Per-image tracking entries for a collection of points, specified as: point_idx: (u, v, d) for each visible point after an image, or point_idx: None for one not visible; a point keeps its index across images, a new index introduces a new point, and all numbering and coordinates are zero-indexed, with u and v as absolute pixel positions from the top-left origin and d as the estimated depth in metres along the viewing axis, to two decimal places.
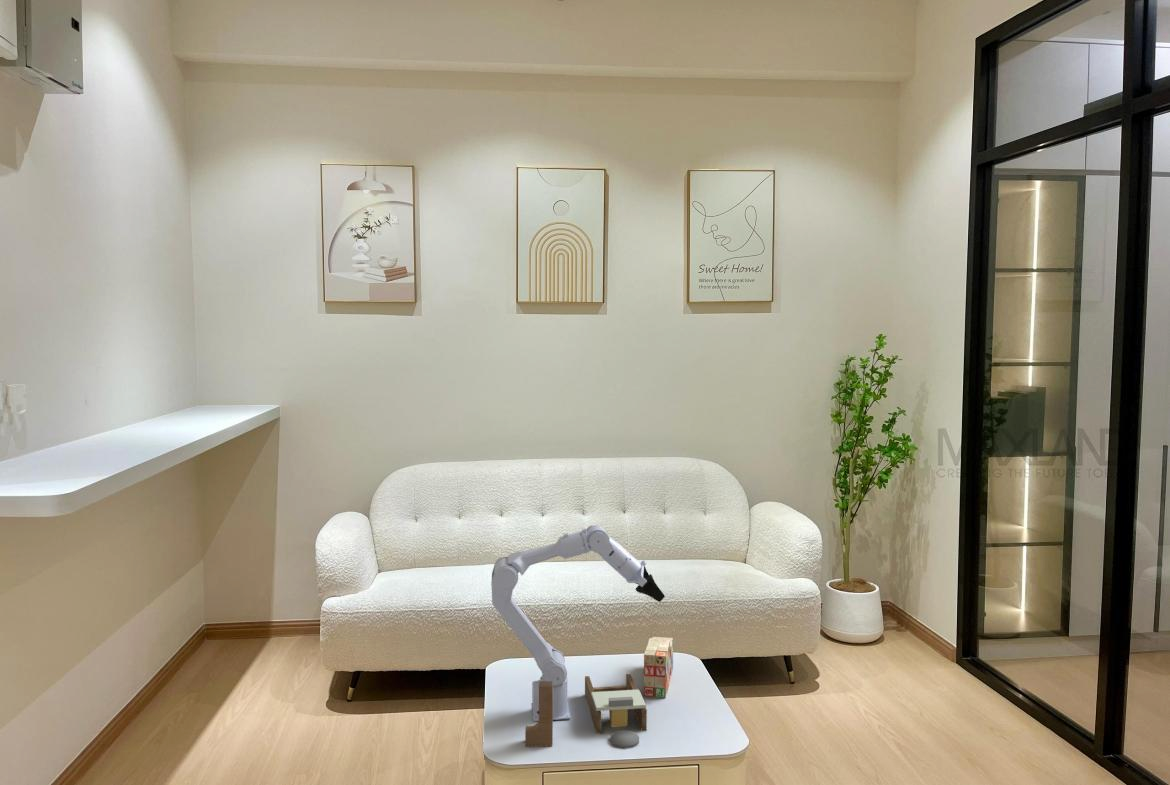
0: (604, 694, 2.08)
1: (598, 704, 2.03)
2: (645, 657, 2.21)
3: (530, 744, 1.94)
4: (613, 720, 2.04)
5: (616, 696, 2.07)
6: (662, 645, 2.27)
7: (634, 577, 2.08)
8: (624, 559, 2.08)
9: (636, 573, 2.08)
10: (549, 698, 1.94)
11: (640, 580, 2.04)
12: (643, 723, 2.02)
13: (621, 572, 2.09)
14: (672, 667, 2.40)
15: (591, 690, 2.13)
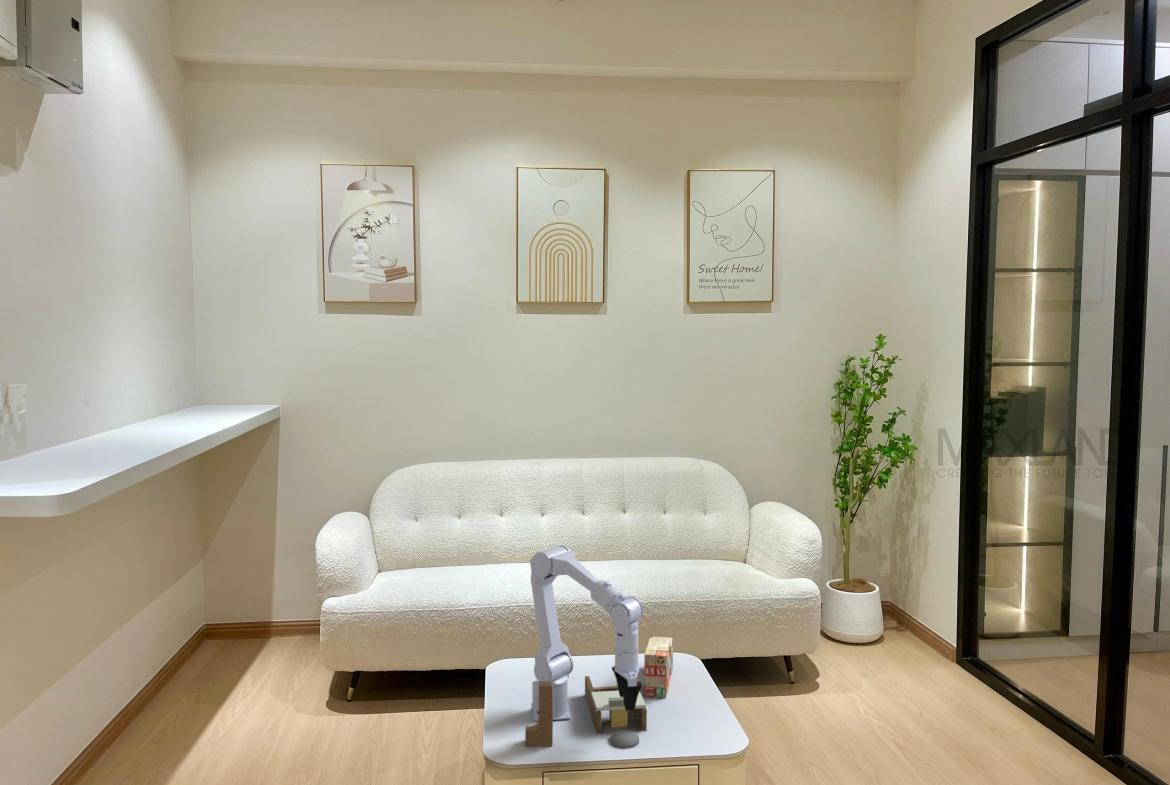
0: (604, 694, 2.08)
1: (598, 704, 2.03)
2: (645, 657, 2.21)
3: (530, 744, 1.94)
4: (613, 720, 2.04)
5: (616, 696, 2.07)
6: (662, 645, 2.27)
7: (625, 671, 1.93)
8: (623, 650, 1.93)
9: (630, 670, 1.93)
10: (549, 698, 1.94)
11: (632, 680, 1.89)
12: (643, 723, 2.02)
13: (619, 657, 1.93)
14: (672, 667, 2.40)
15: (591, 690, 2.13)
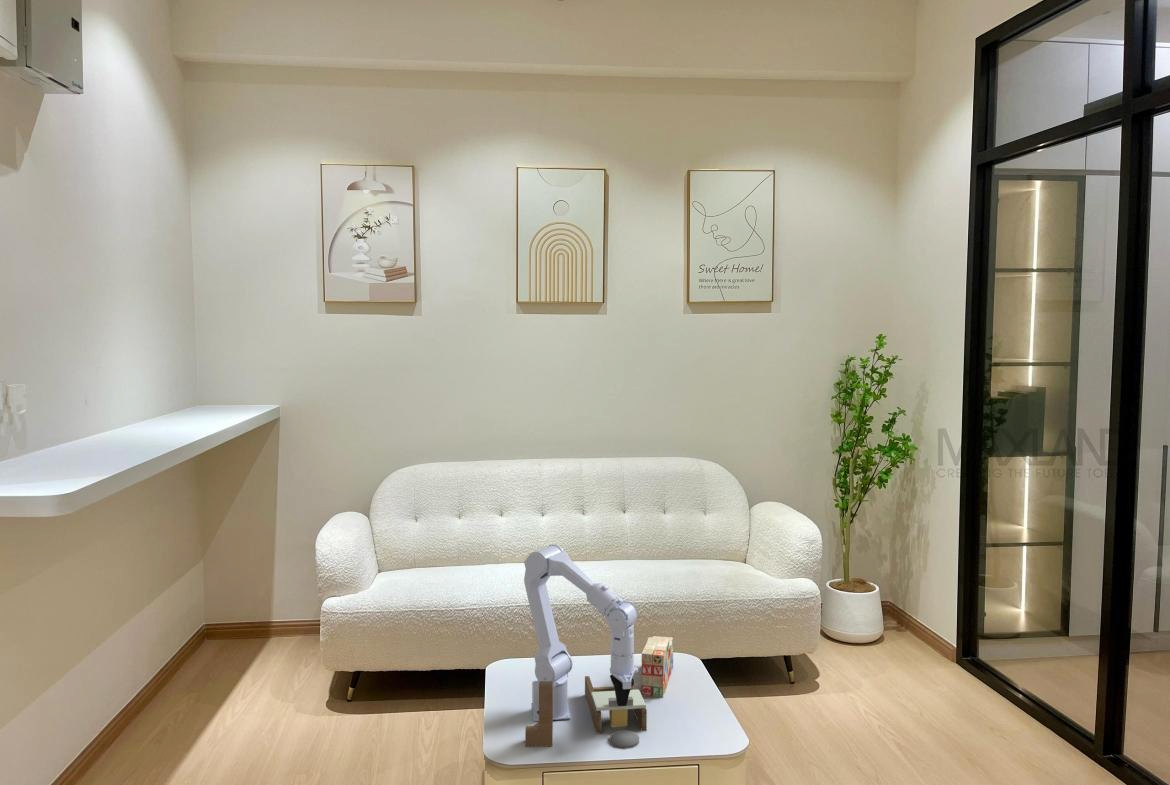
0: (604, 694, 2.08)
1: (598, 704, 2.03)
2: (643, 656, 2.22)
3: (530, 744, 1.94)
4: (613, 720, 2.04)
5: None
6: (660, 644, 2.28)
7: (621, 674, 1.97)
8: (621, 654, 1.97)
9: (625, 673, 1.97)
10: (549, 698, 1.94)
11: (627, 683, 1.93)
12: (643, 723, 2.02)
13: (615, 660, 1.98)
14: (672, 667, 2.40)
15: (591, 690, 2.13)
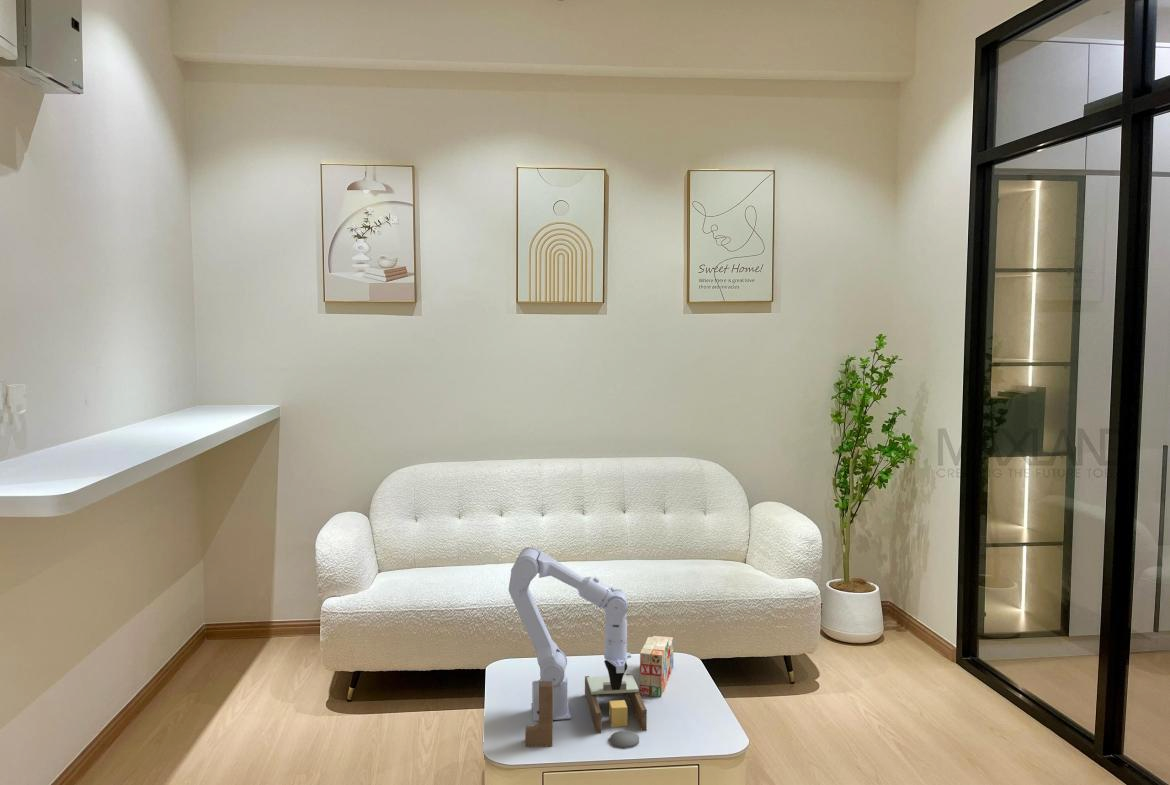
0: (599, 679, 2.17)
1: (592, 688, 2.12)
2: (641, 655, 2.22)
3: (530, 744, 1.94)
4: (613, 720, 2.04)
5: None
6: (659, 644, 2.28)
7: (614, 659, 2.06)
8: (619, 639, 2.06)
9: (619, 658, 2.07)
10: (549, 698, 1.94)
11: (620, 667, 2.02)
12: (643, 723, 2.02)
13: (609, 646, 2.07)
14: (672, 666, 2.41)
15: None
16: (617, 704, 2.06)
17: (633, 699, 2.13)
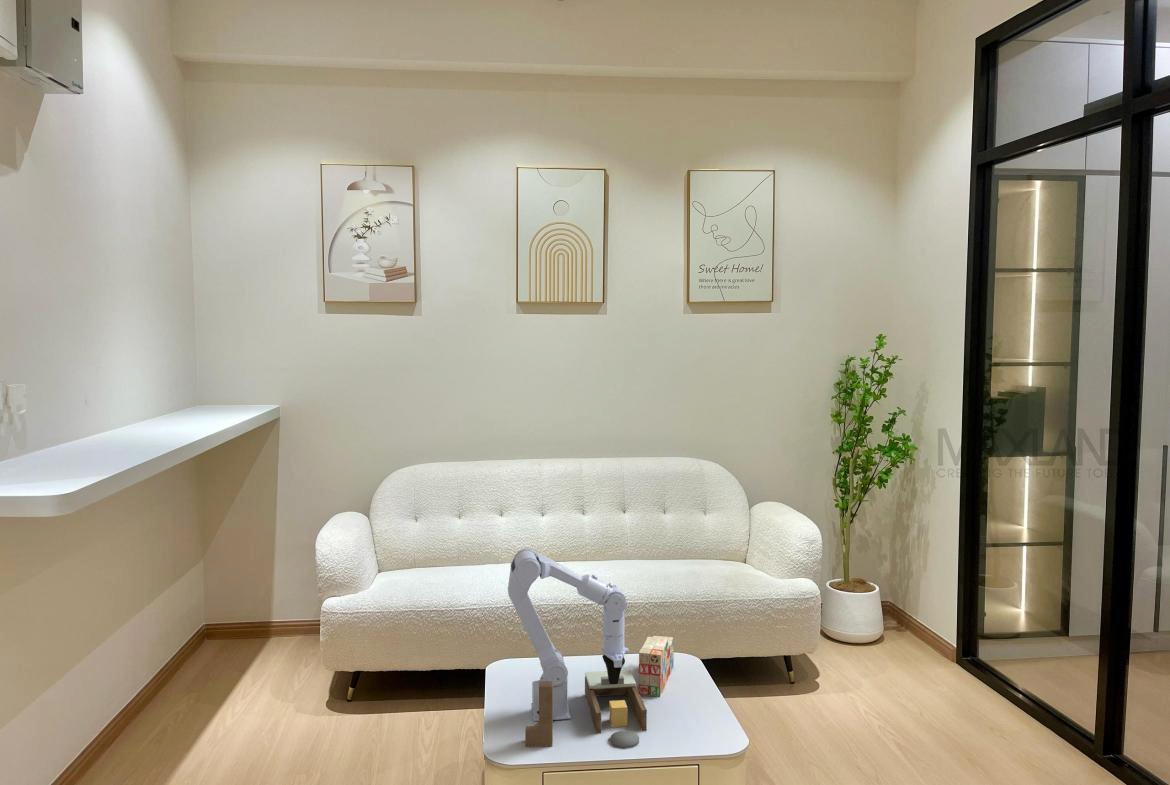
0: (597, 674, 2.21)
1: (591, 682, 2.16)
2: (640, 655, 2.22)
3: (530, 744, 1.94)
4: (613, 720, 2.04)
5: None
6: (659, 644, 2.28)
7: (612, 654, 2.10)
8: (619, 634, 2.10)
9: (616, 652, 2.10)
10: (549, 698, 1.94)
11: (618, 661, 2.06)
12: (643, 723, 2.02)
13: (606, 641, 2.11)
14: (672, 666, 2.41)
15: (591, 690, 2.13)
16: (617, 704, 2.06)
17: (633, 699, 2.13)
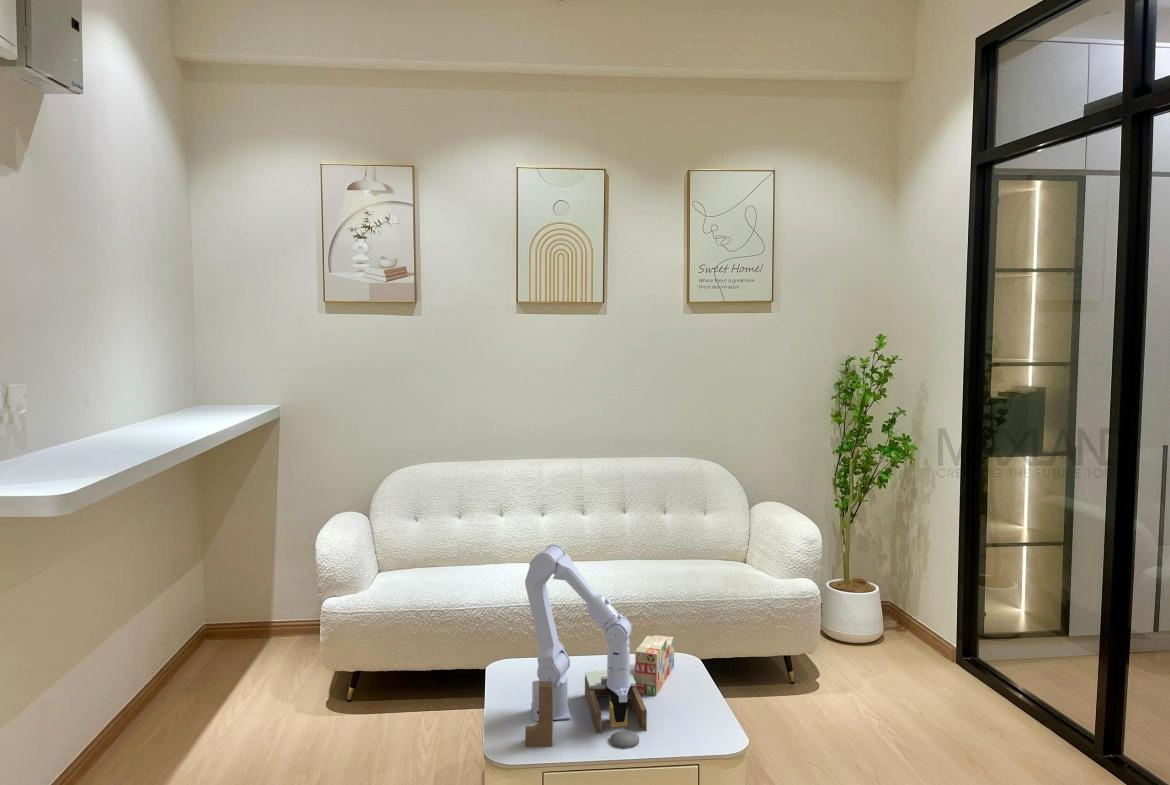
0: (597, 674, 2.21)
1: (591, 682, 2.16)
2: (636, 654, 2.23)
3: (530, 744, 1.94)
4: (613, 720, 2.04)
5: None
6: (656, 643, 2.29)
7: (617, 688, 2.03)
8: (620, 668, 2.03)
9: (621, 686, 2.03)
10: (549, 698, 1.94)
11: (623, 696, 1.99)
12: (643, 723, 2.02)
13: (611, 674, 2.04)
14: (673, 666, 2.41)
15: (591, 690, 2.13)
16: None
17: (633, 699, 2.13)
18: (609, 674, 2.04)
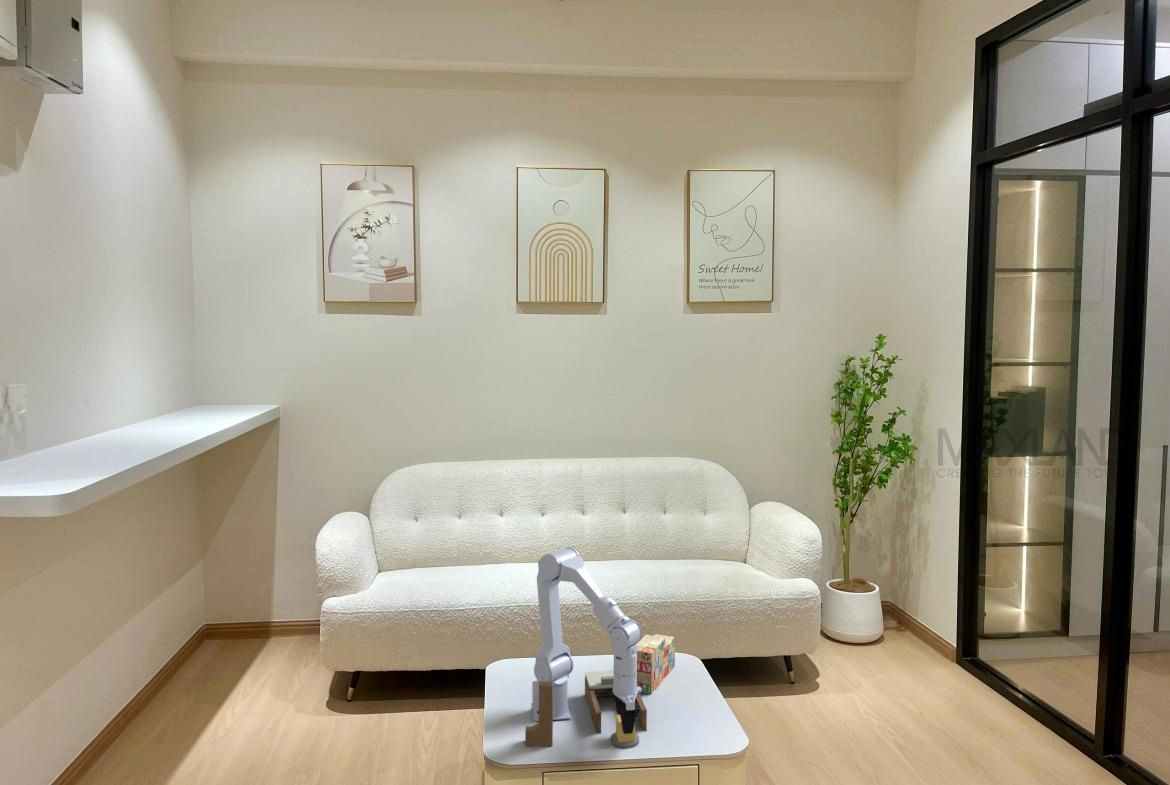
0: (597, 674, 2.21)
1: (591, 682, 2.16)
2: None
3: (530, 744, 1.94)
4: (620, 735, 1.95)
5: (608, 675, 2.20)
6: (654, 642, 2.29)
7: (624, 694, 1.93)
8: (622, 673, 1.93)
9: (628, 693, 1.94)
10: (549, 698, 1.94)
11: (630, 704, 1.89)
12: (643, 723, 2.02)
13: (617, 680, 1.94)
14: (673, 666, 2.41)
15: (591, 690, 2.13)
16: None
17: None
18: (615, 680, 1.95)
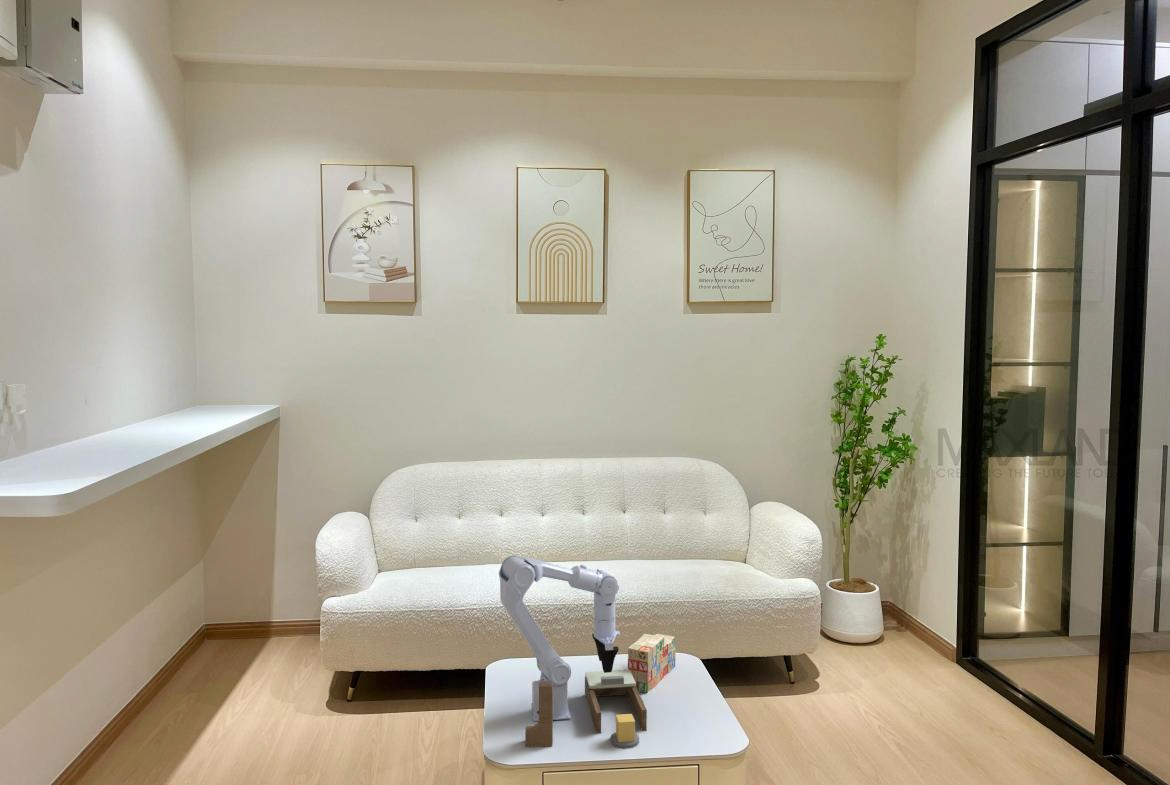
0: (597, 674, 2.21)
1: (591, 682, 2.16)
2: (629, 651, 2.25)
3: (530, 744, 1.94)
4: (620, 735, 1.95)
5: (608, 675, 2.20)
6: (652, 641, 2.30)
7: (603, 637, 2.13)
8: (612, 617, 2.14)
9: (607, 636, 2.13)
10: (549, 698, 1.94)
11: (609, 644, 2.09)
12: (643, 723, 2.02)
13: (598, 624, 2.14)
14: (673, 666, 2.41)
15: (591, 690, 2.13)
16: (624, 718, 1.97)
17: (633, 699, 2.13)
18: (596, 625, 2.14)
